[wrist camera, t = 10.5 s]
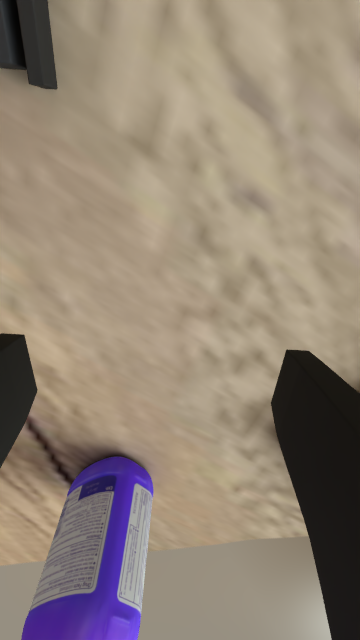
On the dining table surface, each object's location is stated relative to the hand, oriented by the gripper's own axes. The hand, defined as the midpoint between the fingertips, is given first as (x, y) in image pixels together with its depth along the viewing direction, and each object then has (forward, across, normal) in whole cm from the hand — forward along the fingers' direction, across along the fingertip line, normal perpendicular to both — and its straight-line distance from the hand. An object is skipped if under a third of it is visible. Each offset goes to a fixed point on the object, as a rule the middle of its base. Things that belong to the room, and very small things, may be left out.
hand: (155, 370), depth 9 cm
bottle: (+10, +4, +20) cm, 23 cm away
